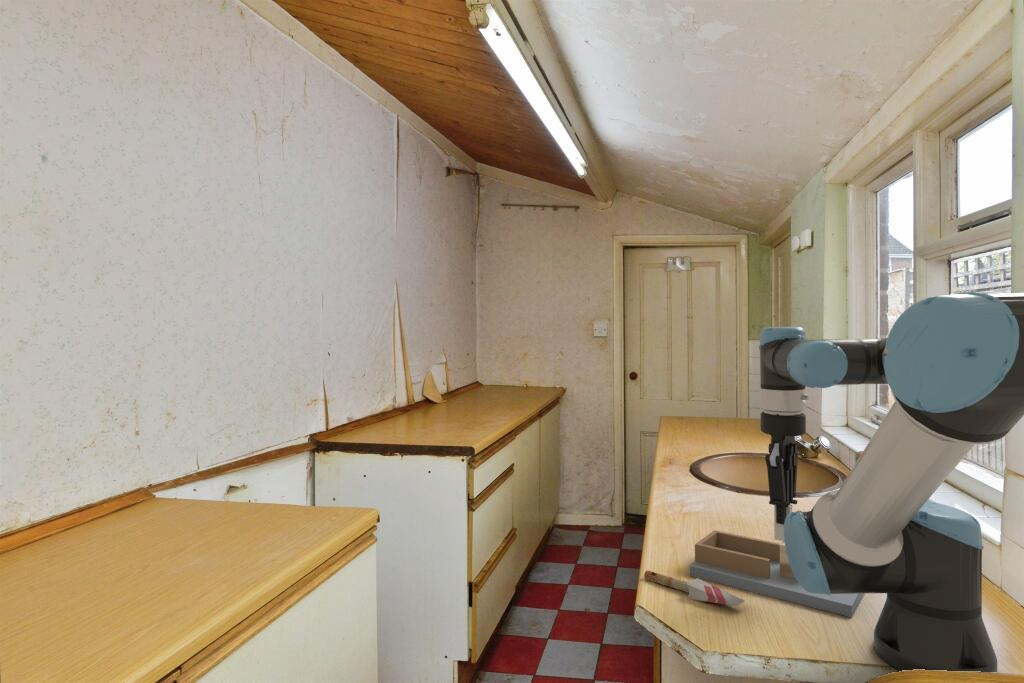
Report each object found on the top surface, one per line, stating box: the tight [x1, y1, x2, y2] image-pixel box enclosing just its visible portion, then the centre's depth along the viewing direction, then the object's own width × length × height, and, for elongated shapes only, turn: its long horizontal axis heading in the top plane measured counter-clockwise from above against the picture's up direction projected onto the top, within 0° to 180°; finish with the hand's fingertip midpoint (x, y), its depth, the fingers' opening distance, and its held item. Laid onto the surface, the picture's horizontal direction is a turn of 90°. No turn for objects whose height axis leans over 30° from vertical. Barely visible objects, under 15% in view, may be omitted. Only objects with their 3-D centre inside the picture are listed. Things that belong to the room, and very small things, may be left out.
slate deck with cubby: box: [689, 529, 865, 618], centre depth 120 cm, size 20×29×6 cm
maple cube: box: [780, 541, 796, 579], centre depth 117 cm, size 5×5×6 cm
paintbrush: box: [643, 570, 746, 607], centre depth 114 cm, size 4×3×20 cm
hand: (783, 539), depth 111 cm, fingers closed
